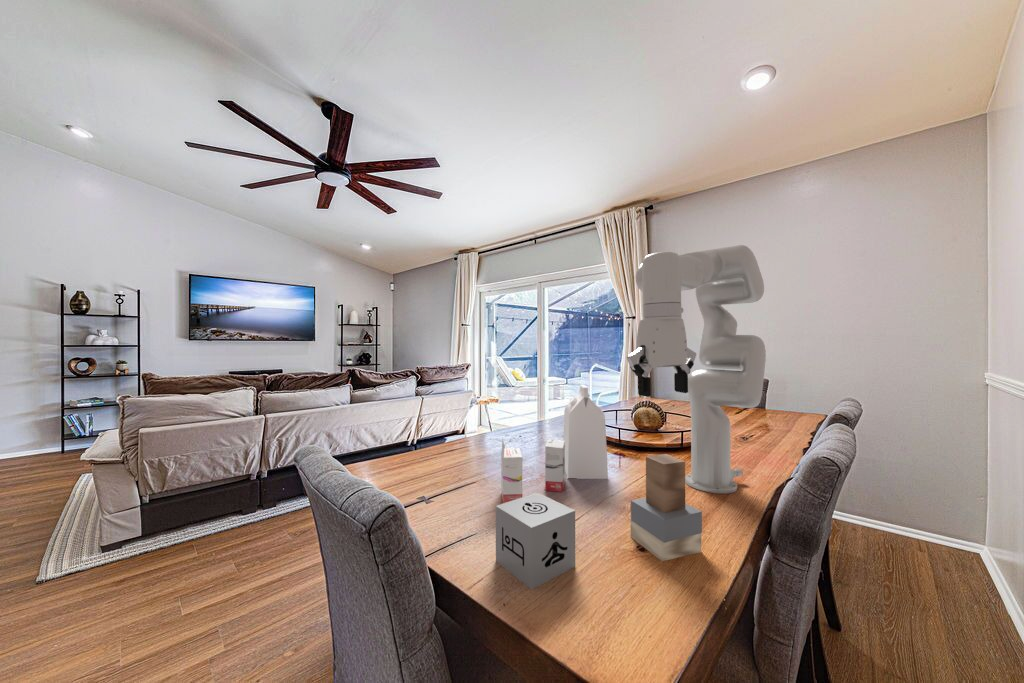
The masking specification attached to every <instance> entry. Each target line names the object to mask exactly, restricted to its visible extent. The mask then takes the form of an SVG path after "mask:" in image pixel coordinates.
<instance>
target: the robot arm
mask: <svg viewBox="0 0 1024 683" xmlns="http://www.w3.org/2000/svg"><path fill="white" fill-rule="evenodd" d="M759 266H760V265H759V263H758V260H757V258H756V256H755V253H754V252H753V251H752V249H751V248H749V246H746V245H743V244H742V245H740V244H739V245H733V246H726V247H721V248H720V247H719V248H713V249H706V250H700V251H699V250H698V251H693V252H689V253H688V252H687V253H684V254H683V253H682V254H678V253H677V252H673V251H663V252H662V251H660V252H654V253H653V252H652V253H650V254H648V255H646V256H644V257H643V259H642V263H640V265H639V266H638V267H637V269H636V272H635V284H636V285H637V287H638V289H639V290H640V291H641V292H642V319H640V320H639V324H638V327H637V334H636V342H635V344H636V345H635V350H634V351H633V352H631V353H629V354H628V355H627V356H626V360H627V362H628V365H629V366H630V367H629V368H630V370H631V371H632V372H633V373H634V375H635V376H636V377H637V392H638V393H637V394H638V396H641V397H647V398H649V397H651V396H652V388H651V387H652V382H651V380H652V378H651V377H649V376H650V373H651V372H652V370H653V369H654V368H669V367H671V368H672V367H673V369H674V370H675V372H674V378H673V379H674V382H673V383H674V387H673V388H674V391H675V393H676V392H677V393H681V394H688V397H689V399H688V400H689V406H690V436H691V437H690V441H691V442H690V446H691V447H690V458H691V459H690V461H691V463H690V464H691V465H690V468H691V470H690V472H691V473H689V474H687V475H685V484H687V485H688V486H690V488H693V489H696V490H698V491H702V492H705V493H711V494H720V495H723V494H732V493H735V492H736V491H738V484H737V483H736V481H734V478H735V477H741V476H743V475H744V473H743V470H742V469H741V468H734V469H733V468H732V466H731V421H730V419H729V417H728V415H727V413H726V412H725V411H724V409H723V408H722V407H724V406H725V407H733V408H744V409H753V408H757V407H758V406H759V404H760V403H761V400H762V396H763V388H764V381H765V379H764V378H765V369H766V361H767V358H766V357H767V356H766V353H767V352H766V345H765V342H764V341H763V339H762V338H761V337H759V335H758V336H757V335H755V334H754V335H753V334H737V330H738V322H737V319H736V318H735V317H734V316H733V314H731V313H730V312H729V310H727V309H726V308H724V307H723V305H725V306H726V305H737V304H739V305H740V304H742V305H743V304H753V303H755V302H758V301H759V300H761V299H762V298H763V296H764V292H765V283H764V279H763V276H762V272H761V269H760V267H759ZM693 289H695V298H696V301H697V304H698V308H699V310H700V313H701V315H702V319H703V329H702V334H701V340H700V345H699V353H698V354H699V356H698V358H699V361H700V364H701V365H702V366H703V367H705V369H704V368H703V369H697V370H694V371H693V372H691V370H692V368H693V366H694V364H695V363H694V362H695V360H696V357H697V352H695V351H694V350H692V349H691V348H689V347H688V343H687V332H686V327H685V322H684V319H683V318H682V314H683V313H684V308H683V307H682V291H690V290H693Z"/></svg>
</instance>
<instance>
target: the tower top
mask: <svg viewBox="0 0 1024 683" xmlns="http://www.w3.org/2000/svg"><path fill="white" fill-rule="evenodd" d="M631 521H633V522H634V523H636V524H637V525H639V526H640V527H642V528H643V529H645V530H646V531H648V532H649V533H651V534H652V535H654V536H655V537H657V538H658V539H660V540H661V541H663V542H664V543H665V542H669V541H673V540H677V539H681V538H685V537H688V536H692V535H696V534H700V533H701V534H702V533H703V511H702V510H699V509H698V508H696V507H694V506H692V505H689V503H686V502H685V509H681V510H676V511H671V512H666V513H663V512H662V511H660V510H658V509H657V508H655V507H654V506H652V505H650V504H649V503H647V502H646V497H641V498H636V499H632V500H630V522H631Z"/></svg>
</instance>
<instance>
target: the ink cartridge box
mask: <svg viewBox="0 0 1024 683" xmlns="http://www.w3.org/2000/svg"><path fill="white" fill-rule="evenodd" d="M504 439H505V438H504V437H502V440H501V452H500V453H501V461H500V462H501V463H500V464H501V469H500V470H501V472H500V473H501V475H500V476H501V480H500V482H501V485H500V486H501V488H500V490H501V492H500V494H501V499H502V504H503V503H506V502H509V501H513V500H516V499H519V498H522V497H523V458H524V457H523V454H522V452H521V449H520V447H509V448H506V447H505V446H506V445H505V444H506V443H505V440H504Z"/></svg>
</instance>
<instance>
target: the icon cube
mask: <svg viewBox="0 0 1024 683" xmlns="http://www.w3.org/2000/svg"><path fill="white" fill-rule="evenodd" d="M495 562H497V564H499V565H500V566H502V567H503V568H504V569H505V570H506V571H507V572H509V573H511V575H513V576H514V577H515V578H516V579H517V580H519V581H520V582H521V583H523V584H524V585H525V586H526V587H528V588H529V589H530V590H531V591H532V590H534V589H536V588H539V587H540V586H542V585H543V584H545V583H547V582H549V581H551V580H553V579H555V578H556V577H559V576H561V575H562V574H564V573H566V572H569V571H570V570H572V569H573V568H576V510H575V509H573V508H571V507H569V506H567V505H565V504H562V503H560V502H558V501H556V500H554V499H552V498H550V497H549V496H546V495H544V494H542V493H540V492H534V493H532V494H528V495H525V496H522V498H519V499H516V500H513V501H509V502H506V503H503V502H502V503H501V504H498V505H496V506H495Z"/></svg>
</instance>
